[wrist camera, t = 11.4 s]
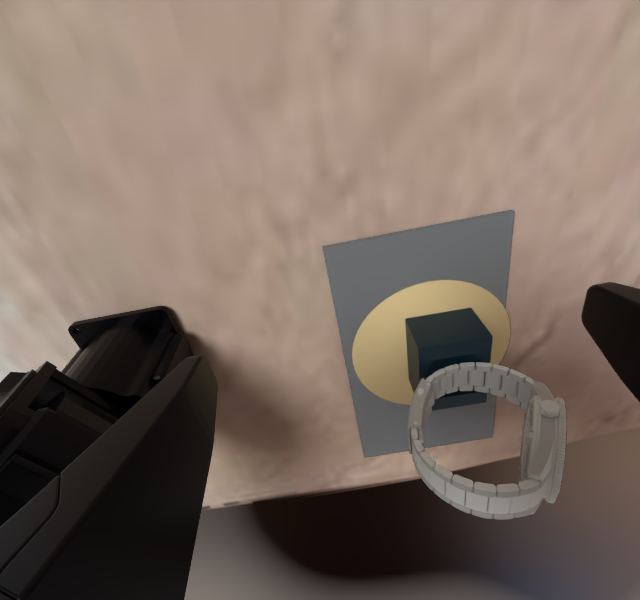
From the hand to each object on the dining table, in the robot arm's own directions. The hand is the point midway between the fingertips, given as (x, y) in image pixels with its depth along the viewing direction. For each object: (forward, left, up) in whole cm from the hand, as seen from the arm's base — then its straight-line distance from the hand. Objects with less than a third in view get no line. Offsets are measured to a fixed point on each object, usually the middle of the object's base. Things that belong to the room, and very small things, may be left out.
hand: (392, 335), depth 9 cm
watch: (+5, -12, -13) cm, 18 cm away
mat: (+4, -13, -13) cm, 19 cm away
